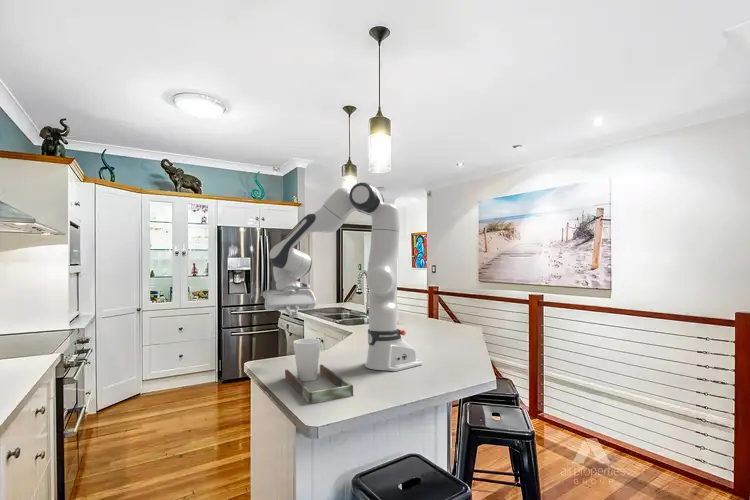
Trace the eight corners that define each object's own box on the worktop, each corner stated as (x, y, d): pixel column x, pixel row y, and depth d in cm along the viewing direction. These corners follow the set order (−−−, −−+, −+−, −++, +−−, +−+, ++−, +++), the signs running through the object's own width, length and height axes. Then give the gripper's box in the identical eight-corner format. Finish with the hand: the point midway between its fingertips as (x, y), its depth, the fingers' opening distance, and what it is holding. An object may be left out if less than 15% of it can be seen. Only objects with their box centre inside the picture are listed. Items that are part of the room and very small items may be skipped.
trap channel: (321, 372, 139) (321, 364, 139) (353, 395, 114) (353, 385, 114) (285, 378, 132) (285, 369, 132) (309, 403, 107) (309, 393, 108)
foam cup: (322, 381, 129) (322, 342, 129) (294, 383, 126) (294, 344, 127) (318, 373, 138) (318, 337, 138) (292, 375, 135) (292, 339, 136)
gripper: (263, 285, 148) (268, 312, 139) (313, 284, 158) (320, 310, 149) (260, 295, 152) (265, 323, 143) (309, 294, 162) (316, 320, 153)
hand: (294, 316), depth 146 cm, fingers closed
